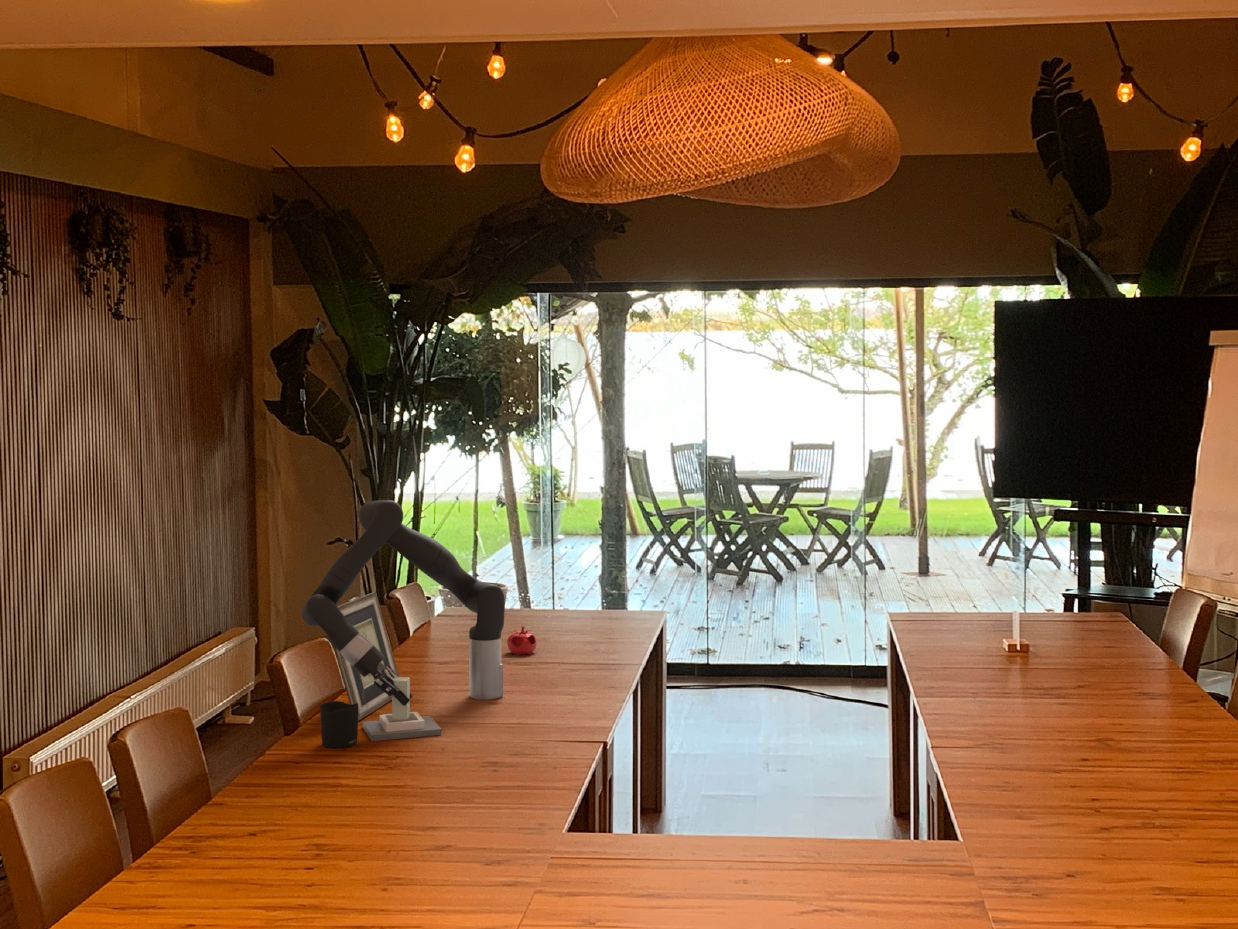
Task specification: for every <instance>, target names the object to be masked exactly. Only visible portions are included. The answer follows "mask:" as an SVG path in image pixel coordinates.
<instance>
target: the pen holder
mask: <svg viewBox="0 0 1238 929" xmlns="http://www.w3.org/2000/svg"><path fill="white" fill-rule="evenodd" d="M319 712H320V714H319V715H320V731H321V732H320V733H321V744H322V746H323V747H325V748H327V749H332V750H333V749H334V750H337V749H338V750H339V749H348V748H351V747H354V746H356V745H357V743H358V732H359V731H358V729H359V721H358V703H355V704H351V705H350V703H346V702H345V701H341V700H340V701H339V700H334V701H333V700H332V701H328V702H324V703H322V704H320V705H319Z"/></svg>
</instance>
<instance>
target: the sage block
mask: <svg viewBox="0 0 1238 929" xmlns="http://www.w3.org/2000/svg"><path fill="white" fill-rule="evenodd" d="M394 680H395V685H396V686H397V687H399V689H400V690H401V691H402V692H403V693H404V694H405V695H406V696H407V697H408V698H409V699H410V693H411V678H410V677H407V676H406V677H405V676H404V677H403V676H399V677H397V678H394ZM410 701H411V699H410ZM410 701H409V702H408V703H407V704H406V705H405V706H403V705H402V704H401V703H400V702H399V701H398V700H397V699H396V698H395V697H394V696H392V700H391V714H392V719H408V717H409V715H410V712H411V706H410V704H411V702H410Z"/></svg>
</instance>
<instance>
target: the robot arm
mask: <svg viewBox="0 0 1238 929" xmlns="http://www.w3.org/2000/svg"><path fill="white" fill-rule="evenodd" d="M358 521H359V524H360V526H362V528H363V530H365V531H364V532H363V533H362V535H361V536H360V537H359V538H358V539H357V540H356V541H355V542H354V543H353V544H351V545H350V546H349V547H348V548H347V549H346V550H345V551H344V552H343V553H342V554H340V556H338V557H337V559H336V560H335V561H334V562H333V563H332V565H331V566H330V568H329V569H328V570H327V572H326V574H325V575H324V576H323V578H322V580H321V582H320V584H319V585H318V587H317V588H316V589H315V590H314V591H313V593H312V594H311V596H310V597H308V599H307V601H306V602H305V603H304V605H303V606H302V609H301V617H302V620H303V622H304V623H306V624H307V625H308V626H312V627H316V626H319V627H320V628H321V629H322V630H323V631H324V633H325V634H326V639H327V641H328V642H329V643H330V644H331V645H332V646H333V647H335V648H336V649H337V650H338V651H339V652H340V653H341V654H342V655H343V657H344V658H345V659H346V660H347V661H348V662H349V663H350V664H351V665H352V666H353V667H354V668H355V669H356V670H357V671H358V672H359V673H360V674H361V675H362V676H363V677H366V676H367V675H368V674H369V673H370V674H371V675H372V676H373V678H374V680H375V681H374V684H375V685H376V686H377V687H379V688H380V689H381V690H382V691H384V692H385V693H386V694H387V695H388V696H394V697H395V698H396V699H397V700H398V701H399V702H400V703H401V704H402V705H403V706H405V705H406V704H407V703H408V702H409V701H411V699H412V698H413V694H412V693H411V692H410V699H409V698H408V697H407V696H406V695H405V694H404V693H403V692H402V691H401V690H400V689H399V687H397V686H396V685H395V680H394V678H397V677H400V675H399V676H398V675H397V674H396V673H395V671H394V670H393V669H392V668H391V666H388V667H387V666H386V667H385V666H384V665H383V664H382V663H381V661H382V660H383V659H384V655H383V654H382V653H381V652H380V651H379V650H378V649H377V648H376V647H375V646H374V645H373V644H372V643H371V642H370V641H369V640H368V639H367V638H366V637H364V636H363V635H362V634H360V633H359V632H358V631H357V630H356V629H355V628H354V627H353V626H352V625H351V624H350V623H349V622H348V621H347V620H346V619H345V617H344V615H343V614H342V613H341V611H340V610H339V609H338V607H337V604H338V602H339V601H340V599H342V597H343V596H344V595H345V594H346V593H347V591H348V590H349V589H350V588H351V586H352V584H353V583H354V582H355V580H356V578H357V577H358V576H359V574H360V573H361V571H362V570H363V568H365V566H366V565H367V564H368V562H369V561H370V560H371V559H372V558H373V556H374V555H375V554H376V553H377V552H378V551H379V549H381V547H383V546H384V544H386V545H388V546H390V547H391V548H392V549H394V550H395V551H396V552H397V553H398V554H400V555H401V556H402V557H404V558H405V560H407V561H409V563H411V564H412V565H414V566H415V567H416V568H417V569H418V570H420V571H421V572H422V573H423V574H425V575H426V576H427V577H428V578H430V579H432V580H433V581H435V582H436V583H438V584H439V585H440V586H442V587H444V588H445V589H446V590H448V591H449V592H450V593H452V594H453V595H454V596H455V597H456V599H458V600H459V602H461V603H462V604H463V606H464V607H466V608H467V609H468V610H469V611H471V612H472V613H475V614H476V623H475V625H473V626H472V627H470V628H469V631H468V633H469V634H468V638H469V639H468V646H469V650H468V653H469V654H468V655H469V656H468V658H469V661H468V664H469V666H468V668H469V674H468V675H469V678H468V680H469V687H468V688H469V689H468V690H469V691H468V693H469V697H470V698H471V699H474V700H481V701H482V700H483V701H484V700H494V699H498V698H503V697H504V664H503V663H502V632H503V629H504V625H505V612H506V611H505V609H506V606H505V605H506V601H505V600H506V598H505V595H504V591H503V590H502V588H501V587H500V586H498V585H497V584H494V583H489V582H484V581H481V580H479V579H477V578H476V577H474V576H473V575H471V574H469V573H468V572H467V571H465V569H463V567H462V566H461V565H460V563H459V562H458V560H457V559H456V557H455V556H454V554H453V553H452V552H451V551H450V550H449V549H447V547H445V546H444V545H442V544H441V543H440V542H438V540H436V539H434V538H432V537H430V536H428V535H426V534H424V533H423V532H420V531H417V530H415V529H412V528H410V527H408V526H406V525H405V524H404V523H403V521H404V510H403V508H402V507H401V504H400V503H398V502H396V501H394V500H392V499H391V500H390V499H382V500H380V499H379V500H372V501H368V502H366V503H365V504H363V505H362V506H361V508H360V509H359V513H358ZM335 648H334V649H335ZM390 687H391V688H392V689H391V690H390Z"/></svg>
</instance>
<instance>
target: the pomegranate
mask: <svg viewBox="0 0 1238 929" xmlns="http://www.w3.org/2000/svg"><path fill="white" fill-rule="evenodd" d="M525 627H526V626H525V625H522V626H521V631H520V630H519V629H517V628H516V629H515V630H513V631H512V632H511V635H509V636H508V638H507V639H506V644H507V649H508V651H510V653H512V654H514V655H516V654H520V655H519V656H521V655H530V654H533V653H534V652H535V651H536V648H537V639H536V635H534V634H533V633H529V632H532V630H529V629H527V630H526V631H524V630H525ZM512 633H513V634H512Z"/></svg>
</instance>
